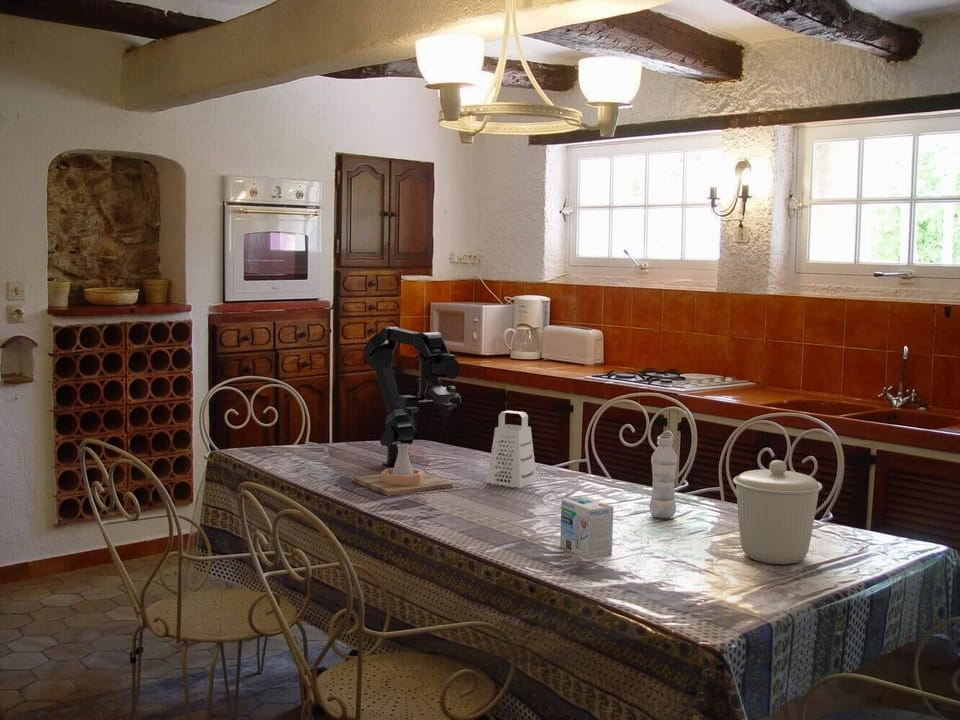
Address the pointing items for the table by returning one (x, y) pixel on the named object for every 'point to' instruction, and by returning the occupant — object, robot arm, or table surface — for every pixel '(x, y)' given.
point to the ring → (402, 477)
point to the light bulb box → (586, 527)
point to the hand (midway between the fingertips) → (428, 429)
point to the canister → (776, 513)
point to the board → (394, 489)
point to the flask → (402, 461)
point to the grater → (512, 453)
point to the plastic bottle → (663, 479)
